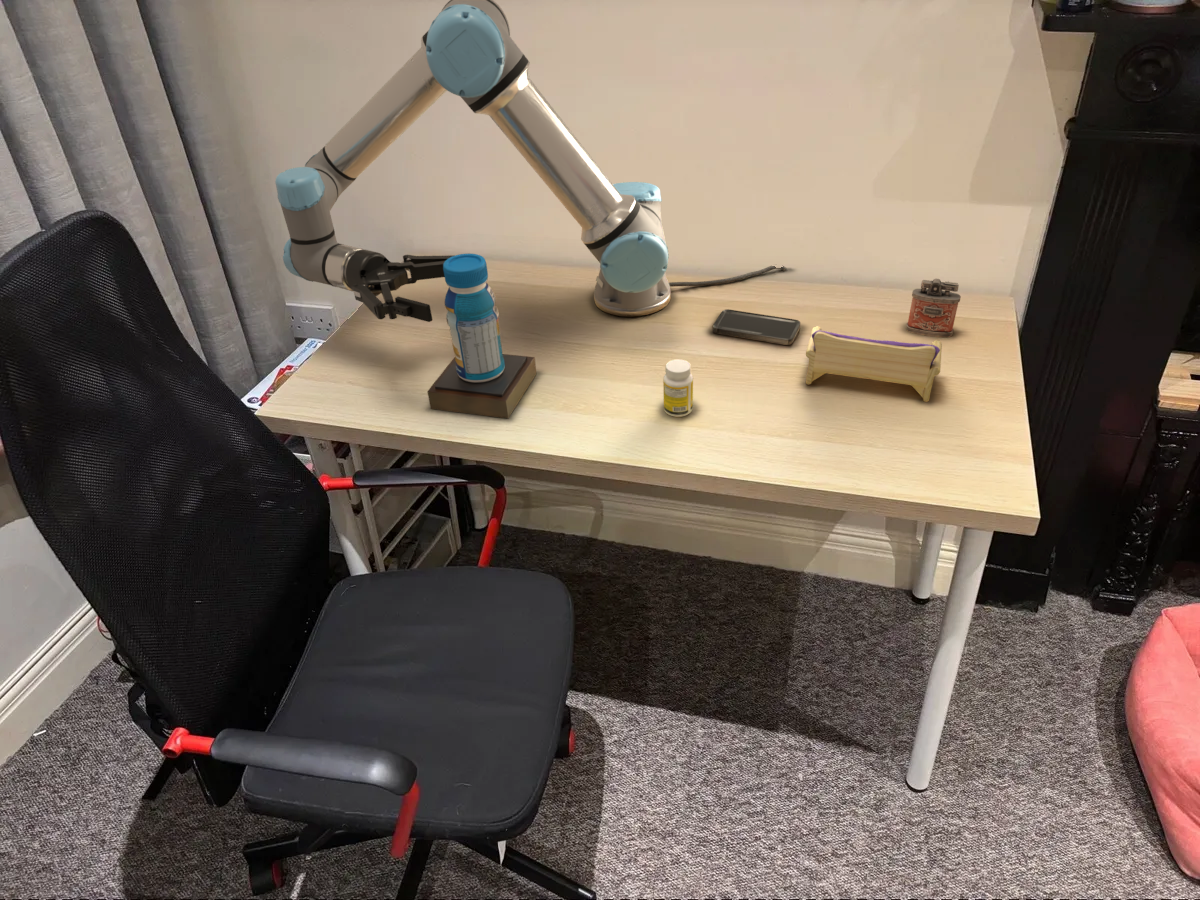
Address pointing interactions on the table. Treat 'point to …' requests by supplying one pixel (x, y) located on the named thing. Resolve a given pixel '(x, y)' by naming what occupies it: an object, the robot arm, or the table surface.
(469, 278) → the beverage bottle
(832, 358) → the toy sofa
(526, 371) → the walnut stand
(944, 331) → the lighter
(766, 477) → the table surface
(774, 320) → the phone
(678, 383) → the supplement bottle
